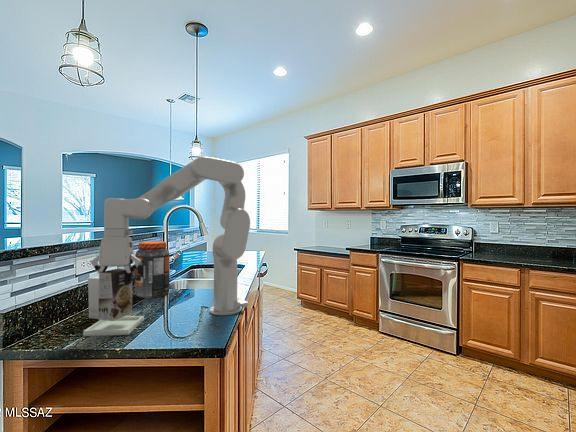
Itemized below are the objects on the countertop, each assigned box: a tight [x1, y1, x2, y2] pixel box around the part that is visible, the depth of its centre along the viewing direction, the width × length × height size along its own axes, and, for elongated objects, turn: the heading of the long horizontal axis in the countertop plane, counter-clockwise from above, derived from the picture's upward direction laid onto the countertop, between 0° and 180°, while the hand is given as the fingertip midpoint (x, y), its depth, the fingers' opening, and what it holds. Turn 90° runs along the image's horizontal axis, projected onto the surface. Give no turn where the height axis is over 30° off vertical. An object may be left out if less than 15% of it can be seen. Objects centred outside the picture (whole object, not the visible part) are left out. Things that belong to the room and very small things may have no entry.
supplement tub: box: [134, 240, 171, 299], centre depth 152 cm, size 16×16×26 cm
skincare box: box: [87, 275, 99, 320], centre depth 119 cm, size 8×7×16 cm
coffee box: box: [97, 268, 133, 321], centre depth 108 cm, size 9×6×16 cm
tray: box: [82, 315, 145, 337], centre depth 108 cm, size 14×14×2 cm
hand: (116, 283), depth 108 cm, fingers closed on coffee box, 7 cm apart
